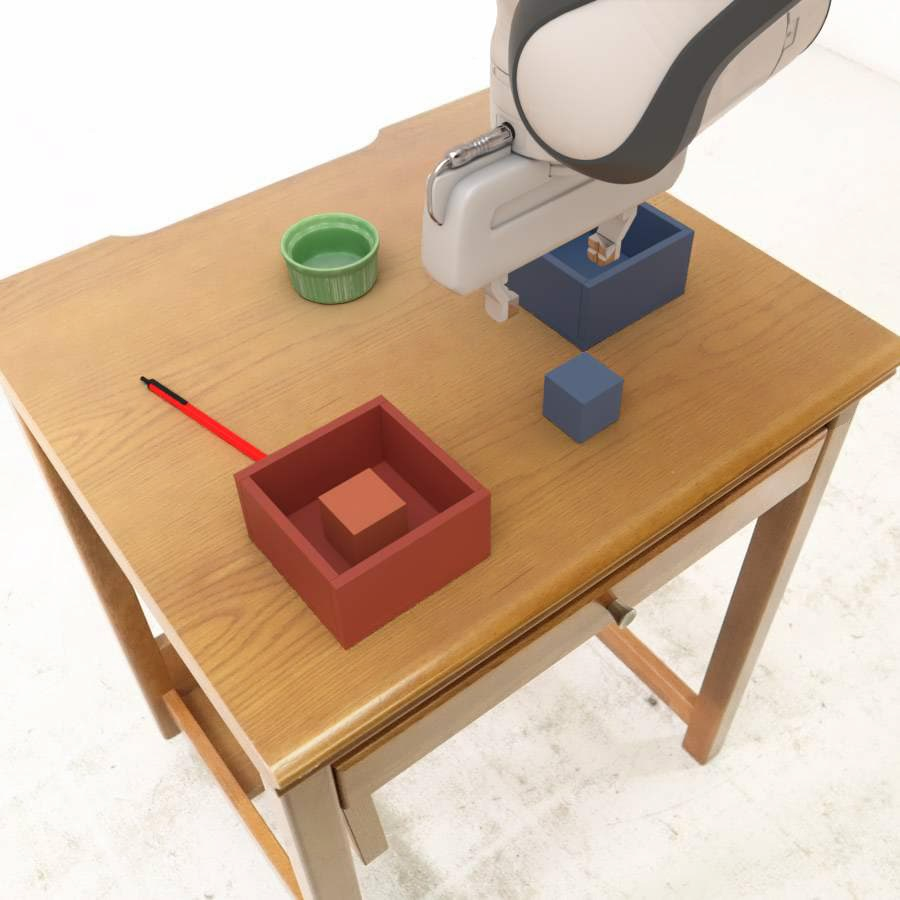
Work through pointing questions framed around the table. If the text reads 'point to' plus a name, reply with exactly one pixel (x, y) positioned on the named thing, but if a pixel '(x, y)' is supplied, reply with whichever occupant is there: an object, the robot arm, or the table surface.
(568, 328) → the blue bin
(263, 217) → the table surface
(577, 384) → the blue block
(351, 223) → the ramekin
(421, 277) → the table surface
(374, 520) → the terracotta block
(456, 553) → the red bin
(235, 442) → the pen
